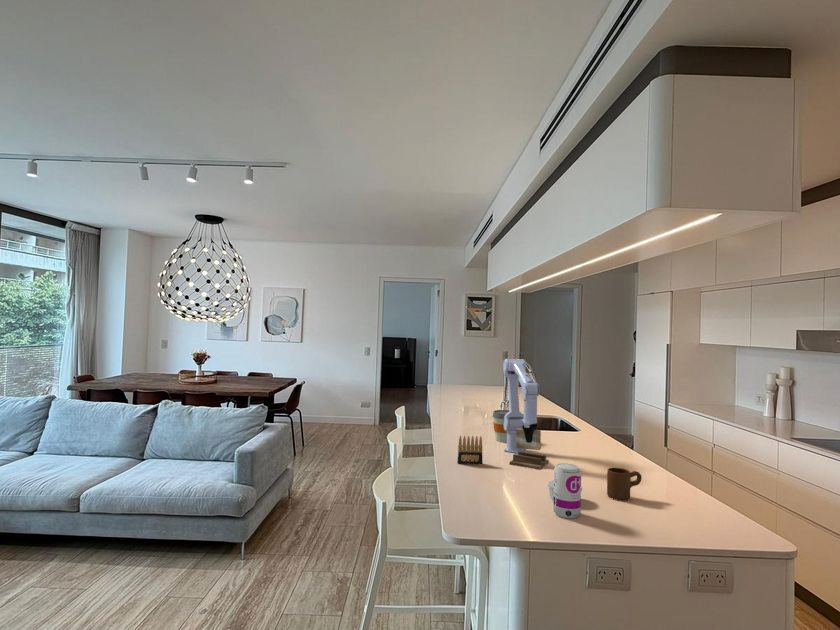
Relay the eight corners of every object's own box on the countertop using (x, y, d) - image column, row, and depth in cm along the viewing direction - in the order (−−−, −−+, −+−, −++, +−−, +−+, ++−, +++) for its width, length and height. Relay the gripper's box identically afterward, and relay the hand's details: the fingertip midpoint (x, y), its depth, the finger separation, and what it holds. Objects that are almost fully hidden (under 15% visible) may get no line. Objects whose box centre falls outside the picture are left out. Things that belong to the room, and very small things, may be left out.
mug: (635, 493, 174) (636, 467, 175) (646, 501, 167) (647, 473, 167) (603, 493, 174) (603, 467, 174) (612, 501, 166) (613, 473, 166)
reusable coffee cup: (495, 436, 263) (496, 409, 263) (518, 439, 258) (519, 411, 258) (489, 441, 251) (490, 412, 251) (513, 444, 246) (514, 414, 247)
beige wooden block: (517, 446, 215) (517, 428, 216) (540, 448, 211) (540, 430, 212) (516, 447, 212) (516, 429, 213) (539, 450, 208) (539, 431, 209)
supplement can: (585, 518, 150) (586, 469, 151) (562, 520, 148) (563, 470, 148) (570, 508, 158) (571, 462, 158) (548, 510, 156) (549, 463, 156)
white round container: (588, 505, 162) (588, 489, 162) (558, 507, 159) (558, 491, 159) (570, 493, 173) (570, 478, 173) (541, 495, 170) (542, 480, 170)
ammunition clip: (482, 463, 209) (482, 435, 210) (482, 464, 208) (483, 436, 208) (457, 462, 210) (458, 434, 210) (457, 463, 208) (458, 435, 208)
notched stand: (520, 457, 221) (520, 449, 221) (548, 462, 214) (548, 454, 214) (509, 464, 209) (509, 456, 209) (539, 469, 202) (539, 461, 202)
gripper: (524, 407, 220) (523, 437, 220) (517, 411, 207) (517, 443, 207) (540, 408, 218) (539, 439, 217) (534, 413, 204) (533, 445, 204)
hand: (529, 441), depth 212 cm, fingers closed on beige wooden block, 3 cm apart
